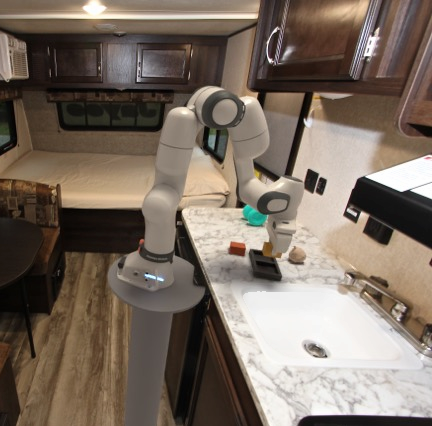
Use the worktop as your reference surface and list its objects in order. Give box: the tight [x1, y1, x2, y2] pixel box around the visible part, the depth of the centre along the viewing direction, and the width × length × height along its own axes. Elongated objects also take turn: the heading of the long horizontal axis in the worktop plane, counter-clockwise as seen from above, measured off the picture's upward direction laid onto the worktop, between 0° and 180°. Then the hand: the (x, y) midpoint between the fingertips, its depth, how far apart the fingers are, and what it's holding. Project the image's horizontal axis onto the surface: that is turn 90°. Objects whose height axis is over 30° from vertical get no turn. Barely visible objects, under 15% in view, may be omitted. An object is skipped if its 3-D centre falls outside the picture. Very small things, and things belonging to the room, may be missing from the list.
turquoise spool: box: [242, 204, 268, 227], centre depth 157 cm, size 10×10×10 cm
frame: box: [248, 248, 283, 282], centre depth 121 cm, size 10×18×3 cm, turn 163°
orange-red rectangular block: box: [228, 241, 247, 257], centre depth 130 cm, size 6×4×4 cm
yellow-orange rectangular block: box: [261, 241, 283, 259], centre depth 113 cm, size 6×4×4 cm
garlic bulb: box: [288, 245, 307, 263], centre depth 124 cm, size 7×6×8 cm
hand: (272, 250), depth 113 cm, fingers closed on yellow-orange rectangular block, 4 cm apart
